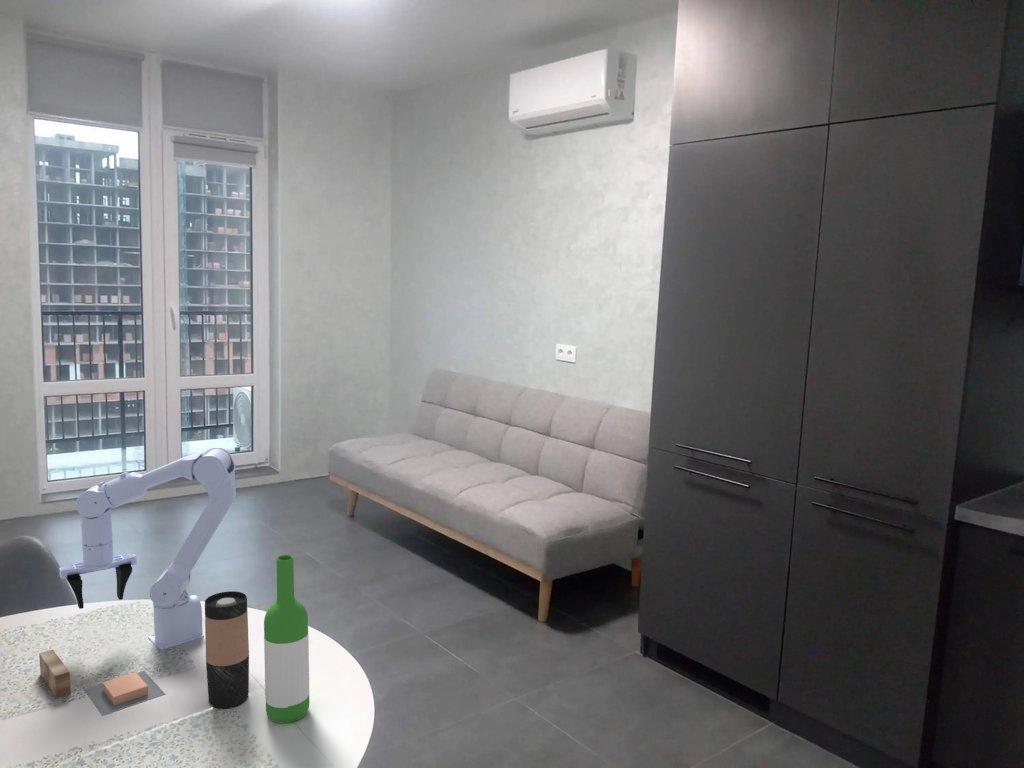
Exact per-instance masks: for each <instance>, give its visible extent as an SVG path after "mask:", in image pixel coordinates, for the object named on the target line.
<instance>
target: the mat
mask: <svg viewBox="0 0 1024 768" xmlns="http://www.w3.org/2000/svg"><path fill="white" fill-rule="evenodd" d="M136 673H137V674H138V675H139V677H140V678H141V679H142V680H143V681H144V682H145V683H146V684H147V686H148V694H147V695H144V696H141V697H138V698H135V699H132V700H129V701H126V702H123V703H120V704H117V705H114V704H113V703H112V702H111V701H110V699H109V698H108V697H107V695H106V694H105V693H104V691H103V686H102V683H101V684H97V685H95V686H92V687H88V688H85V689H83V690H84V692H85V694H86V695H87V696H88V697H89V699H90V700H91V702H92V703H93V704H94V707H96V708H97V710H98V712H99V714H101V716H102V717H103V716H107V715H109V714H112V713H114V712H119V711H121V710H124V709H127V708H130V707H132V706H136V705H139V704H141V703H144V702H147V701H151V700H153V699H157V698H159V697H162V696H165V695H166V693H165V692H164V691H163V689H161V687H159V685H158V684H157V683H156V682H155V681H154V679H152V678H151V676H150V675H149V674H148V673H147V672H146V671H145V670H142V671H138V672H136Z"/></svg>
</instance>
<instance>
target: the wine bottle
mask: <svg viewBox="0 0 1024 768" xmlns="http://www.w3.org/2000/svg"><path fill="white" fill-rule="evenodd" d="M294 566H295V565H294V556H293V555H291V554H290V555H289V554H283V555H280V556H278V557H277V558H276V600H275V601H273V603H271V604H270V606H269V607H268V608H267V610H266V613H265V615H264V618H263V619H264V620H263V632H264V633H263V641H264V642H263V643H264V644H263V645H264V649H263V650H264V651H263V652H264V653H263V654H264V687H265V688H264V692H265V693H264V694H265V695H264V696H265V697H264V699H265V712H266V716H267V718H268V719H269V720H271V721H272V722H274V723H278V724H286V723H287V724H288V723H292V722H293V723H294V722H297V721H298V720H300V719H302V718H303V717H304V716H306V714H307V713H308V712H309V709H310V660H309V659H310V657H309V656H310V653H309V651H310V649H309V648H310V647H309V642H310V641H309V615H308V611H307V610H306V607H305V605H304V604H303V603H302V602H301V601H300V600H298V599H296V597H295V570H294Z"/></svg>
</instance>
